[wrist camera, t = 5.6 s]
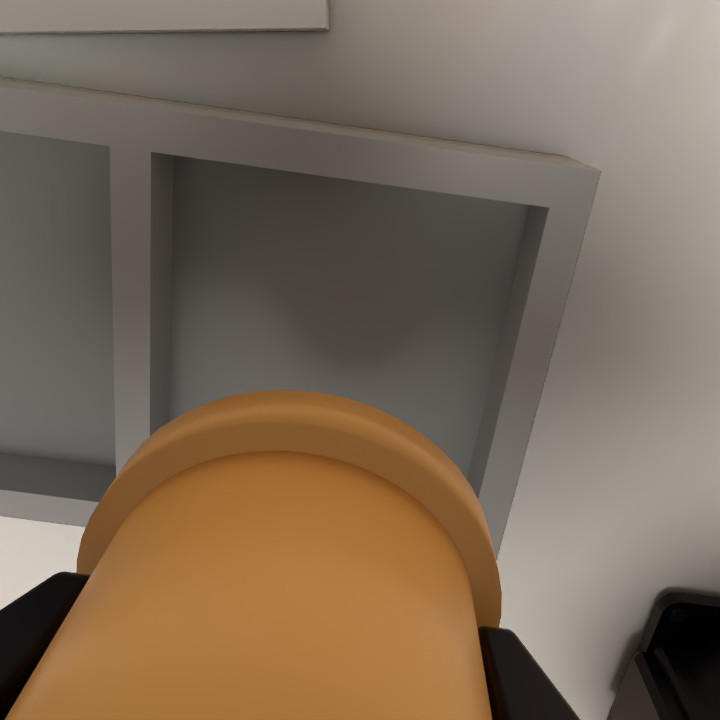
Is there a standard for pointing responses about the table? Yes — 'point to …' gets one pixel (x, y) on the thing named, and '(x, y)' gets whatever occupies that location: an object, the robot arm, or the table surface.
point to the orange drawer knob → (277, 575)
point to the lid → (160, 16)
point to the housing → (265, 282)
